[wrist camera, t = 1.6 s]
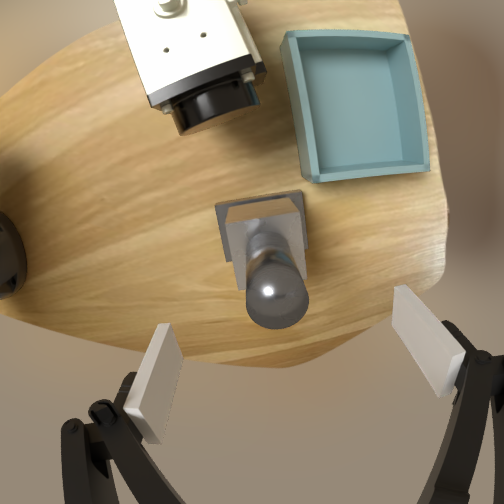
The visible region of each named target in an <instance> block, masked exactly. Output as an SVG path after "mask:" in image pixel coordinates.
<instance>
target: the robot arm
mask: <svg viewBox="0 0 504 504" xmlns="http://www.w3.org/2000/svg"><path fill="white" fill-rule="evenodd" d="M26 272H27V263H26V255H25V251H24V247H23V244H22V241H21V239H20V236H19V234H18V232H17V230H16V228H15V227H14V225H13V224H12V222H11V221H10V220H9V219H8V218H7V217H6V216H5V215H4V214H3V213H1V212H0V300H1V299H5V298H8V297H10V296H12V295H13V294H15V293H16V292H17V291H18V290H19V289H20V288H21V287H22V286H23V284H24V282H25V278H26ZM392 326H393V328H394V329H395V331H396V332H397V334H398V335H399V337H400V338H401V340H402V341H403V343H404V344H405V346H406V347H407V349H408V350H409V352H410V353H411V355H412V356H413V358H414V360H415V361H416V363H417V364H418V366H419V367H420V369H421V371H422V372H423V374H424V375H425V377H426V378H427V380H428V382H429V383H430V385H431V387H432V388H433V390H434V392H435V393H436V395H437V397H438V398H441V397H444V396H446V395H449V394H451V392H452V390H453V387H454V385H455V386H456V388H457V389H458V391H457V394H456V396H455V399H454V401H453V409H452V412H451V416H450V419H449V423H448V426H447V429H446V433H445V436H444V439H443V442H442V444H441V447H440V450H439V453H438V456H437V459H436V461H435V463H434V466H433V469H432V471H431V473H430V476H429V478H428V481H427V483H426V485H425V487H424V490H423V492H422V494H421V496H420V498H419V500H418V502H417V504H468V502H469V499H470V494H469V493H468V490H469V487H470V484H471V480H472V477H473V474H474V471H475V467H476V464H477V460H478V456H479V452H480V448H481V444H482V440H483V435H484V430H485V425H486V420H487V414H488V408H489V401H490V400H491V407H492V418H493V429H494V446H495V485H494V486H495V487H494V503H493V504H504V355H500V356H492V355H491V354H490V353H488V352H487V351H484V350H477V349H476V348H475V347H474V346H473V345H472V344H471V343H470V341H469V340H468V339H467V338H466V337H465V336H463V333H462V332H461V331H459V329H458V328H457V327H456V326H455V325H454V324H453V323H451V322H449V321H447V320H445V321H442V322H440V321H439V320H438V319H437V317H436V316H435V315H434V314H433V313H432V312H431V311H430V310H429V309H428V308H427V307H426V305H424V303H423V302H422V301H421V300H420V299H419V298H418V297H417V296H416V295H415V294H414V293H413V292H412V290H411V289H410V288H409V287H408V286H407V285H406V284H404V285H400V286H395V287H394V301H393V314H392ZM183 359H184V358H183V356H182V353H181V351H180V348H179V345H178V343H177V340H176V337H175V334H174V332H173V329H172V326H171V323H163V324H158V326H157V328H156V330H155V333H154V335H153V337H152V339H151V342H150V344H149V346H148V349H147V351H146V353H145V356H144V358H143V360H142V363H141V365H140V368H139V370H138V372H130V373H129V374H128V375H127V376H126V377H125V378H124V380H123V382H122V385H121V387H120V389H119V393H117V396H116V398H115V400H114V403H112V402H111V401H110V400H106V399H102V400H99V401H96V402H95V403H93V404H92V405H91V407H90V408H89V411H88V414H89V416H90V418H91V419H92V420H93V422H94V423H90V424H84V423H83V422H82V421H81V420H80V419H77V418H74V419H70V420H68V421H66V422H65V423H64V424H63V426H62V428H61V461H62V478H63V490H64V500H65V504H119V501H118V496H117V493H116V488H115V484H114V479H113V475H112V470H111V465H110V459H113V460H114V462H115V464H116V465H117V468H118V469H119V471H120V473H121V475H122V476H123V478H124V480H125V481H126V484H127V485H128V487H129V489H130V490H131V492H132V494H133V495H134V496H135V498H136V500H137V501H138V503H139V504H186V503H185V502H184V501H183V499H182V498H181V497H180V496H179V495H178V493H177V492H176V491H175V490H174V488H173V487H172V486H171V485H170V483H169V482H168V481H167V479H166V478H165V477H164V475H163V474H162V473H161V471H160V470H159V469H158V467H157V466H156V464H155V463H154V461H153V460H152V459H151V457H150V456H149V454H148V453H147V451H146V450H145V448H144V447H143V445H142V444H141V442H142V438H144V439H145V441H146V442H147V443H148V444H162V442H163V438H164V434H165V430H166V426H167V421H168V417H169V413H170V409H171V405H172V401H173V397H174V393H175V389H176V386H177V382H178V378H179V374H180V370H181V366H182V363H183Z"/></svg>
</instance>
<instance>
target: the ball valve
mask: <svg viewBox="0 0 504 504" xmlns="http://www.w3.org/2000/svg"><path fill="white" fill-rule="evenodd" d="M113 1H114V4H115V7H116V10H117V13H118V17H119V20H120V22H121V25H122V28H123V31H124V34H125V37H126V40H127V43H128V46H129V49H130V51H131V54H132V57H133V60H134V63H135V65H136V68H137V71H138V74H139V76H140V79H141V82H142V85H143V87H144V90H145V93H146V95H147V98H148V101H149V103H150V106H151V108H154V109H157V110H160V111H162V113H163V115H166V114H171V115H172V117H173V120H174V122H175V125H176V127H177V130H178V132H179V135H180V136H186V135H190V134H194V133H197V132H200V131H203V130H206V129H209V128H211V127H214V126H217V125H219V124H222V123H225V122H227V121H230V120H232V119H235V118H237V117H240V116H242V115H245V114H247V113H249V112H251V111H253V110H255V109H257V108H258V107H260V101H259V99H258V96H257V94H256V91H255V89H254V86H257V85H260V84H263V83H264V80H265V77H266V74H267V71H266V68H265V66H264V63H263V61H262V59H261V56H260V54H259V52H258V49H257V47H256V45H255V43H254V40H253V38H252V36H251V34H250V32H249V29H248V27H247V25H246V23H245V21H244V19H243V16H242V14H241V12H240V10H239V8H238V6H237V2H238V3H239V5H245V4H247V0H113Z"/></svg>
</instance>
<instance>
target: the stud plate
mask: <svg viewBox="0 0 504 504" xmlns="http://www.w3.org/2000/svg"><path fill="white" fill-rule="evenodd" d="M287 197H289V198H290V200H291V201H292V202H293V204H294V205H295V206H296V207H297V209H298V210H299V211H300V218H301V226H302V234H303V243H304V249H308V240H307V231H306V222H305V214H304V206H303V198H302V191H301V190H292V191H286V192H279V193H273V194H266V195H260V196H254V197H248V198H242V199H236V200H230V201H225V202H219V203H216V204H215V210H216V215H217V220H218V225H219V230H220V234H221V239H222V244H223V249H224V254H225V258H226V262H230V261H232V257H231V252H230V247H229V242H228V237H227V232H226V227H225V222H226V217H227V213H228V209H229V207H232V206H238V205H244V204H250V203H256V202H262V201H268V200H274V199H281V198H287Z"/></svg>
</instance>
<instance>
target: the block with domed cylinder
mask: <svg viewBox="0 0 504 504" xmlns="http://www.w3.org/2000/svg"><path fill="white" fill-rule="evenodd" d="M225 227H226V232H227V237H228V242H229V247H230V252H231V257H232V261H233V266H234V271H235V276H236V281H237V285H238V290H245V289H246V308H247V312H248V314H249V316H250V317H251V319H252V320H253V321H254V322H255V323H257V324H258V325H260V326H262V327H265V328H268V329H283V328H287V327H290V326H292V325H294V324H295V323H297V322H298V321H299V320H300V319H301V318H302V317H303V316H304V315H305V313H306V311H307V309H308V305H309V296H308V292H307V290H306V287H305V285H304V282H303V280H306V279H307V271H306V262H305V252H304V243H303V234H302V226H301V218H300V211H299V210H298V209H297V207H296V206H295V205H294V204H293V202H292V201H291V200H290V198H289V197H287V198H281V199H274V200H268V201H262V202H256V203H250V204H244V205H238V206H232V207H229V209H228V213H227V217H226V222H225Z"/></svg>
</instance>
